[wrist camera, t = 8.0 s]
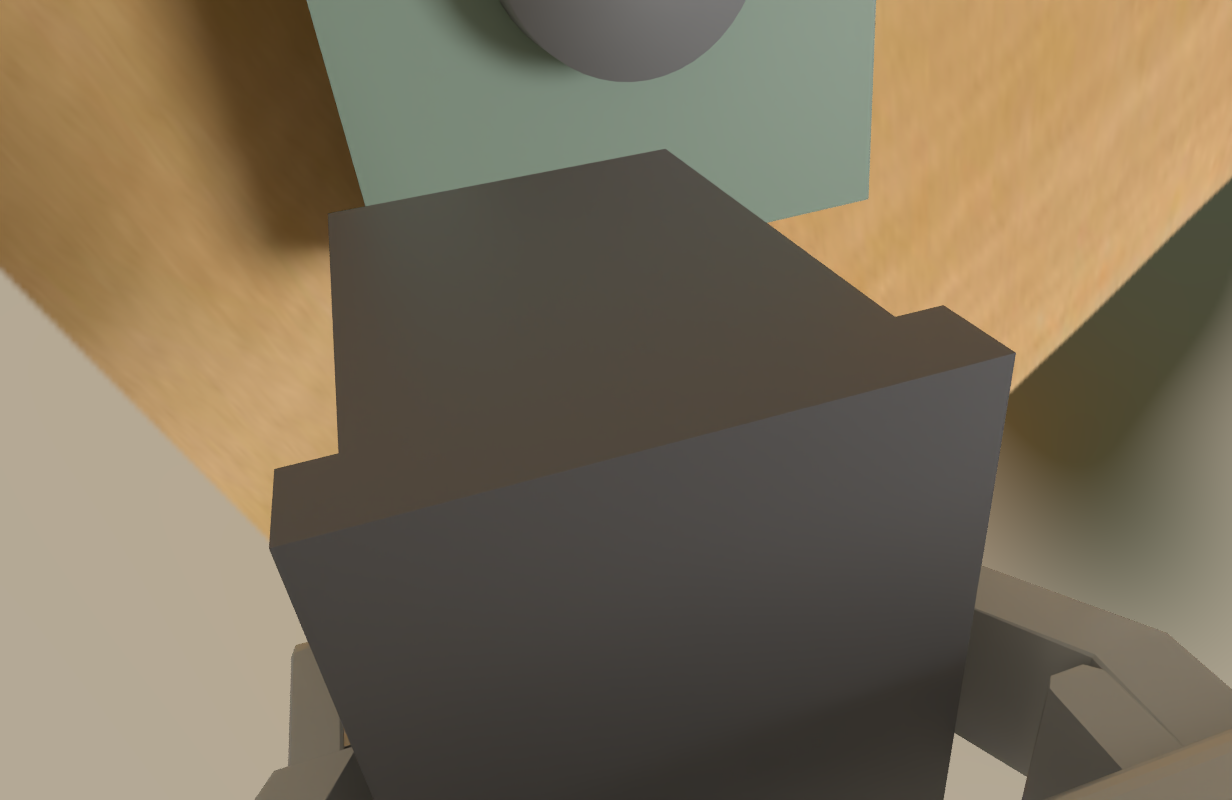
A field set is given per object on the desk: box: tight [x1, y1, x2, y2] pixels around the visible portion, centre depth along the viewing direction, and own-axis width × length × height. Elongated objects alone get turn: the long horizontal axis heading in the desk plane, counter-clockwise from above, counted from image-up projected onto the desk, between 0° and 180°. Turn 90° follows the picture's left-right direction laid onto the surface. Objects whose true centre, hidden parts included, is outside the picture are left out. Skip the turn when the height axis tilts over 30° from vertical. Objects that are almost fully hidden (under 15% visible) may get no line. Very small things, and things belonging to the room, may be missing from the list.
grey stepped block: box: [269, 149, 1016, 800], centre depth 10 cm, size 5×9×6 cm, turn 6°
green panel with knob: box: [307, 0, 876, 223], centre depth 24 cm, size 14×27×7 cm, turn 7°
